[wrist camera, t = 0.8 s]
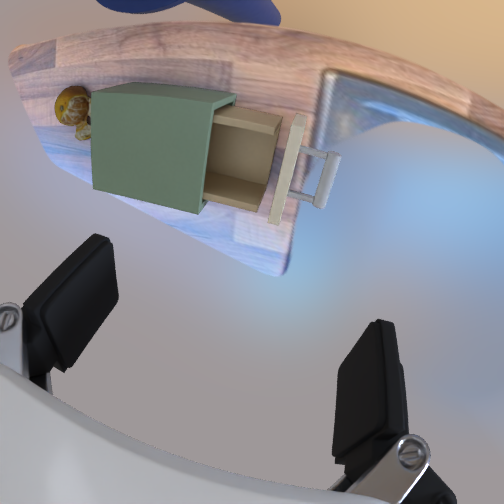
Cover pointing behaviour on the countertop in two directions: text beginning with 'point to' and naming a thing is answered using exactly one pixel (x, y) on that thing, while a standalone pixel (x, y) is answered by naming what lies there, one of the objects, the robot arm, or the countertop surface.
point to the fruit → (74, 110)
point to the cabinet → (153, 142)
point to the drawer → (258, 161)
